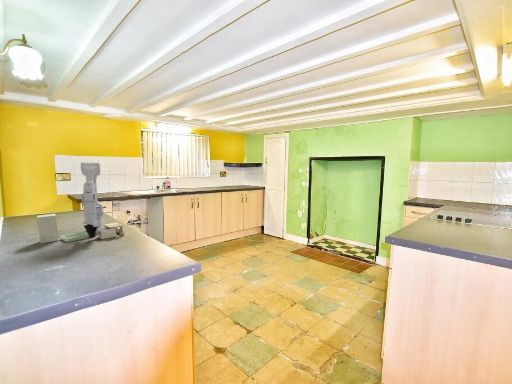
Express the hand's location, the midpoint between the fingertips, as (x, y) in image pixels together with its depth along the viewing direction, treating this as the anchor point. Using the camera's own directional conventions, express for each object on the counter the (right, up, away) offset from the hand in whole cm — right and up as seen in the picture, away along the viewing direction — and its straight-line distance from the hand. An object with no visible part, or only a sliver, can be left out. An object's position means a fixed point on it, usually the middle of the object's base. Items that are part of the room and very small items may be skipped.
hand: (91, 237), depth 147 cm
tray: (-11, -1, +3) cm, 11 cm away
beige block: (+7, -1, +9) cm, 11 cm away
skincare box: (-22, -2, -2) cm, 23 cm away
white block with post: (+3, -1, +4) cm, 6 cm away
